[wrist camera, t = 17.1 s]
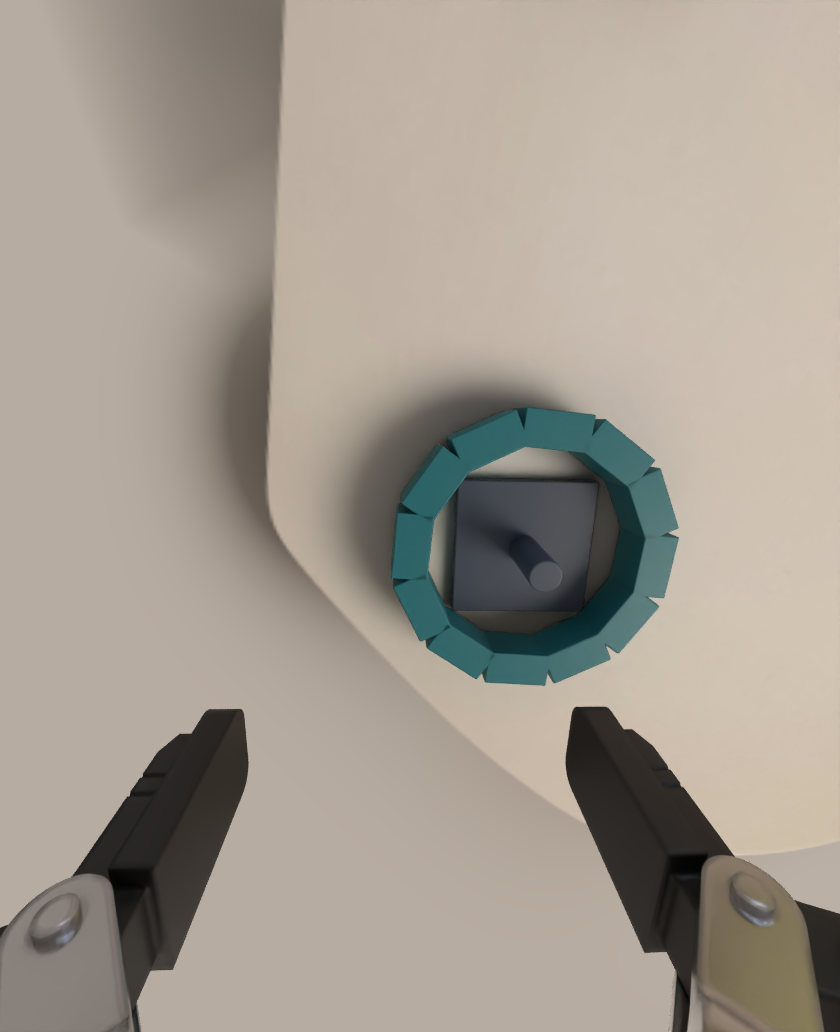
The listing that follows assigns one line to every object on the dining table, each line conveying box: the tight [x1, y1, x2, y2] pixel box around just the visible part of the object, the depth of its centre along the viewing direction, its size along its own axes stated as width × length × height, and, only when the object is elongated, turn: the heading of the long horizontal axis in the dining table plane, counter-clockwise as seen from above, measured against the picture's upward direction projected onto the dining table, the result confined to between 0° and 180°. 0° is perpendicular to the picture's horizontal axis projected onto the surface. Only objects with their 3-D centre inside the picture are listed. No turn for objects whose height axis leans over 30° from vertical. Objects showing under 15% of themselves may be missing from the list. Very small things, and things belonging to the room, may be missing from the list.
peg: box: [451, 478, 599, 611], centre depth 22 cm, size 8×8×4 cm
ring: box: [391, 407, 679, 686], centre depth 23 cm, size 14×14×2 cm
